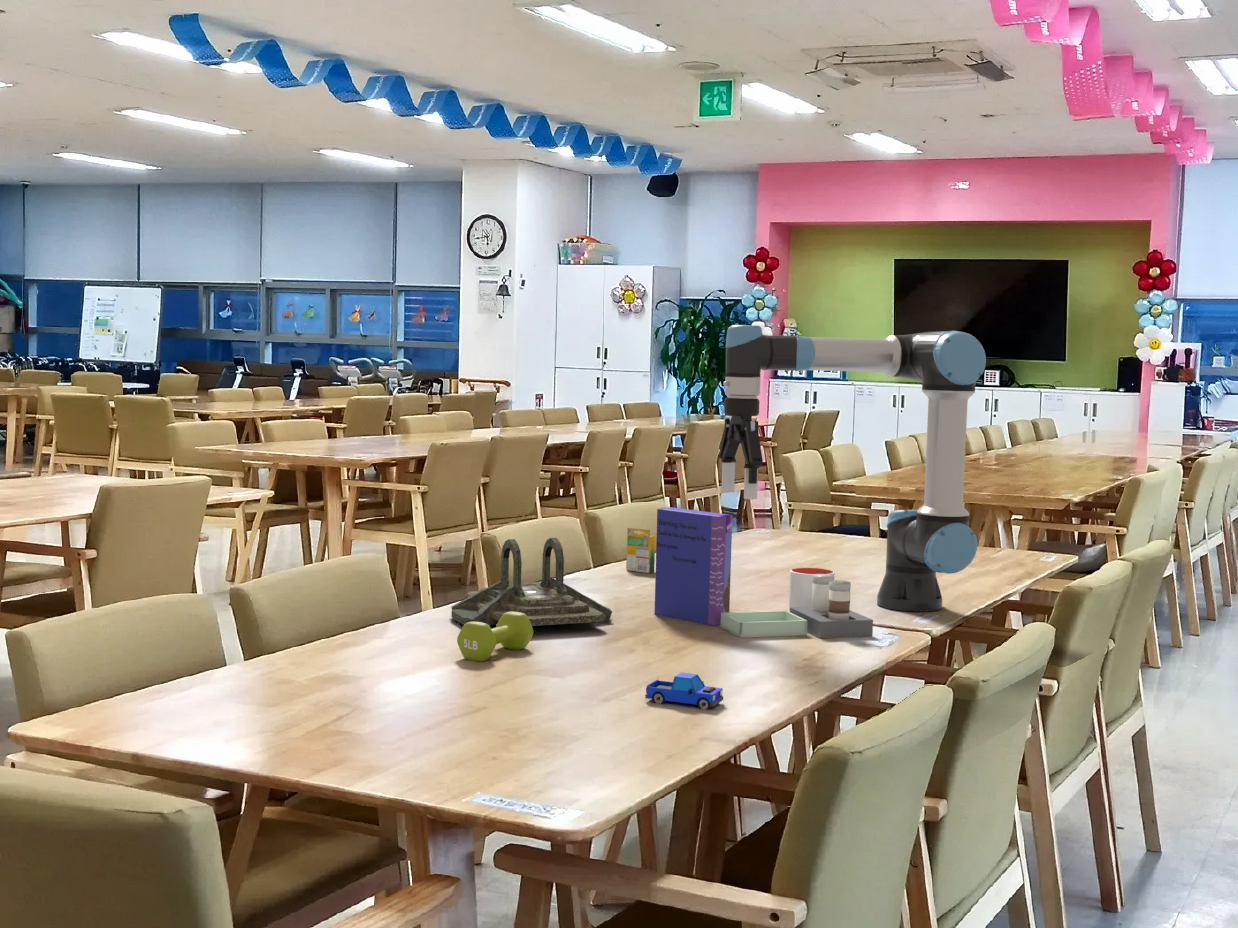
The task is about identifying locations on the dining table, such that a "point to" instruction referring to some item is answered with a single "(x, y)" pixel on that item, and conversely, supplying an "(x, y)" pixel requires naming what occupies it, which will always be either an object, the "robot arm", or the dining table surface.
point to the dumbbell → (494, 636)
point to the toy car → (684, 691)
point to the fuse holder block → (819, 615)
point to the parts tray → (763, 624)
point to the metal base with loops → (530, 595)
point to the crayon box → (640, 551)
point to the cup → (803, 585)
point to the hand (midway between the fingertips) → (738, 495)
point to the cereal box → (693, 565)
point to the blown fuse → (839, 600)
